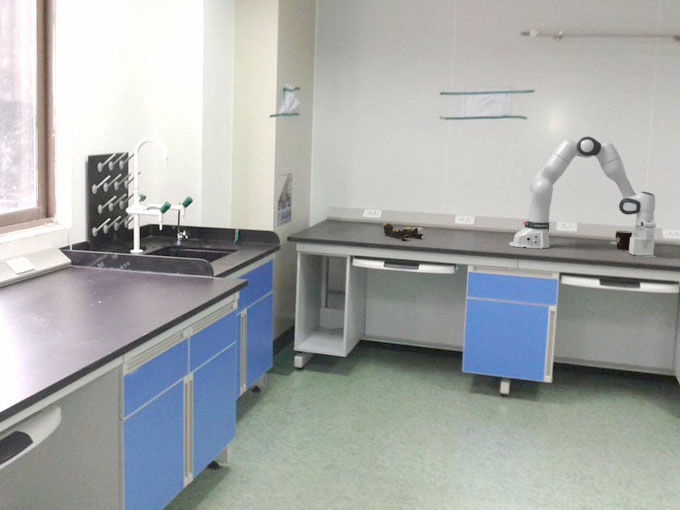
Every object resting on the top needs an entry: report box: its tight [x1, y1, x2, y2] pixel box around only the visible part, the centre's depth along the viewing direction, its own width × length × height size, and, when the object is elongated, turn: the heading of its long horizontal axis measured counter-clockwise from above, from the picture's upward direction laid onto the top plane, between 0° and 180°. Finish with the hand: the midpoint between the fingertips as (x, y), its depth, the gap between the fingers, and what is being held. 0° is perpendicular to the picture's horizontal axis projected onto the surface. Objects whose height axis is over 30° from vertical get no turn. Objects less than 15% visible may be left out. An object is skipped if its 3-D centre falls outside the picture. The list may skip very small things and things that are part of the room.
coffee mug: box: [614, 230, 633, 251], centre depth 450 cm, size 12×9×10 cm
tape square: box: [636, 255, 656, 258], centre depth 431 cm, size 10×10×1 cm
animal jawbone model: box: [382, 221, 424, 242], centre depth 467 cm, size 17×25×10 cm
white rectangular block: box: [628, 236, 655, 256], centre depth 430 cm, size 11×7×9 cm, turn 88°
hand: (642, 247), depth 431 cm, fingers closed on white rectangular block, 7 cm apart
